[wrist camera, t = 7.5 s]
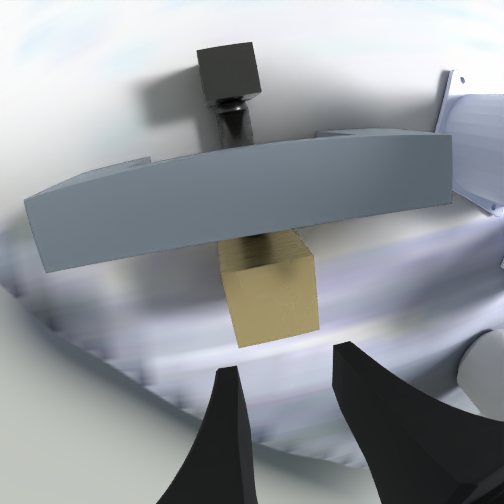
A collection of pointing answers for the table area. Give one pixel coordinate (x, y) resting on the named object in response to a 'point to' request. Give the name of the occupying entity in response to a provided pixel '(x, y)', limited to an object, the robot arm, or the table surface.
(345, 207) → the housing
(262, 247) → the plug
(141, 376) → the table surface
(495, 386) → the can
